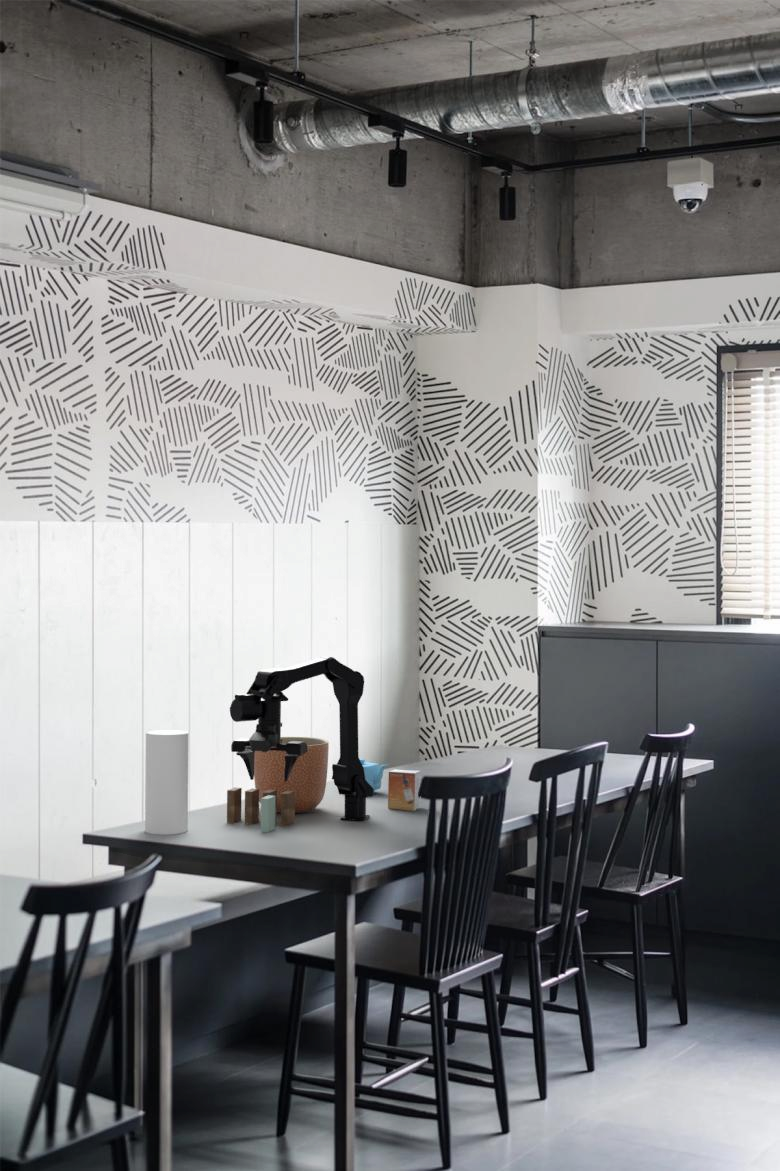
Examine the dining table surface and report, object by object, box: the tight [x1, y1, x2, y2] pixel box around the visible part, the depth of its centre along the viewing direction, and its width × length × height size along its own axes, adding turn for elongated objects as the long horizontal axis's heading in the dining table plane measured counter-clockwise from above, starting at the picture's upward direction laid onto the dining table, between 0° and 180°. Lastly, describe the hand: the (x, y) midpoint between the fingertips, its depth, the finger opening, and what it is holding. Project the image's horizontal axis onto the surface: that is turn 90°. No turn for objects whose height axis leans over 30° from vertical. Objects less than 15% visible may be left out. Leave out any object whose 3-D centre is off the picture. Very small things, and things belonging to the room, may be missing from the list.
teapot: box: [359, 758, 388, 794], centre depth 426 cm, size 18×14×10 cm
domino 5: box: [280, 791, 296, 827], centre depth 373 cm, size 2×5×8 cm, turn 164°
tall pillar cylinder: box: [144, 729, 189, 836], centre depth 362 cm, size 11×11×25 cm
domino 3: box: [263, 790, 278, 824], centre depth 374 cm, size 2×5×8 cm, turn 164°
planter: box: [253, 736, 329, 814], centre depth 395 cm, size 21×21×19 cm
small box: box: [387, 768, 422, 811], centre depth 399 cm, size 8×6×10 cm
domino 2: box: [244, 788, 260, 825], centre depth 375 cm, size 2×5×8 cm, turn 164°
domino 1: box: [226, 787, 243, 824], centre depth 377 cm, size 2×5×8 cm, turn 164°
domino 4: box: [260, 795, 276, 833], centre depth 365 cm, size 2×5×8 cm, turn 164°
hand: (268, 780), depth 364 cm, fingers open, 9 cm apart
